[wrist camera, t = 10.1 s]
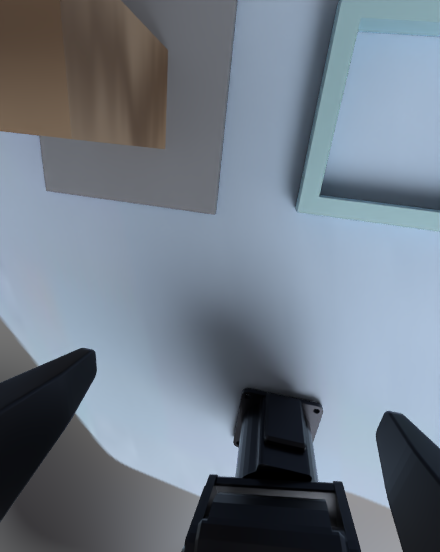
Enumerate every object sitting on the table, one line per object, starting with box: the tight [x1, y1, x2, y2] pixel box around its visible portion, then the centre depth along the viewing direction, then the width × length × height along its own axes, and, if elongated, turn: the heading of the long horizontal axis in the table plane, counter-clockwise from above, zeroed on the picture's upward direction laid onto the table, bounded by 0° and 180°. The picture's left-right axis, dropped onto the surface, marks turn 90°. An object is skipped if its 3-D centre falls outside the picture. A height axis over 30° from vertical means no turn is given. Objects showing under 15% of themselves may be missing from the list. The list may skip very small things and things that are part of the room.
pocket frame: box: [295, 0, 440, 232], centre depth 15 cm, size 10×10×2 cm
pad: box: [40, 0, 237, 215], centre depth 17 cm, size 12×12×1 cm
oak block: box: [0, 0, 168, 149], centre depth 13 cm, size 5×5×9 cm
